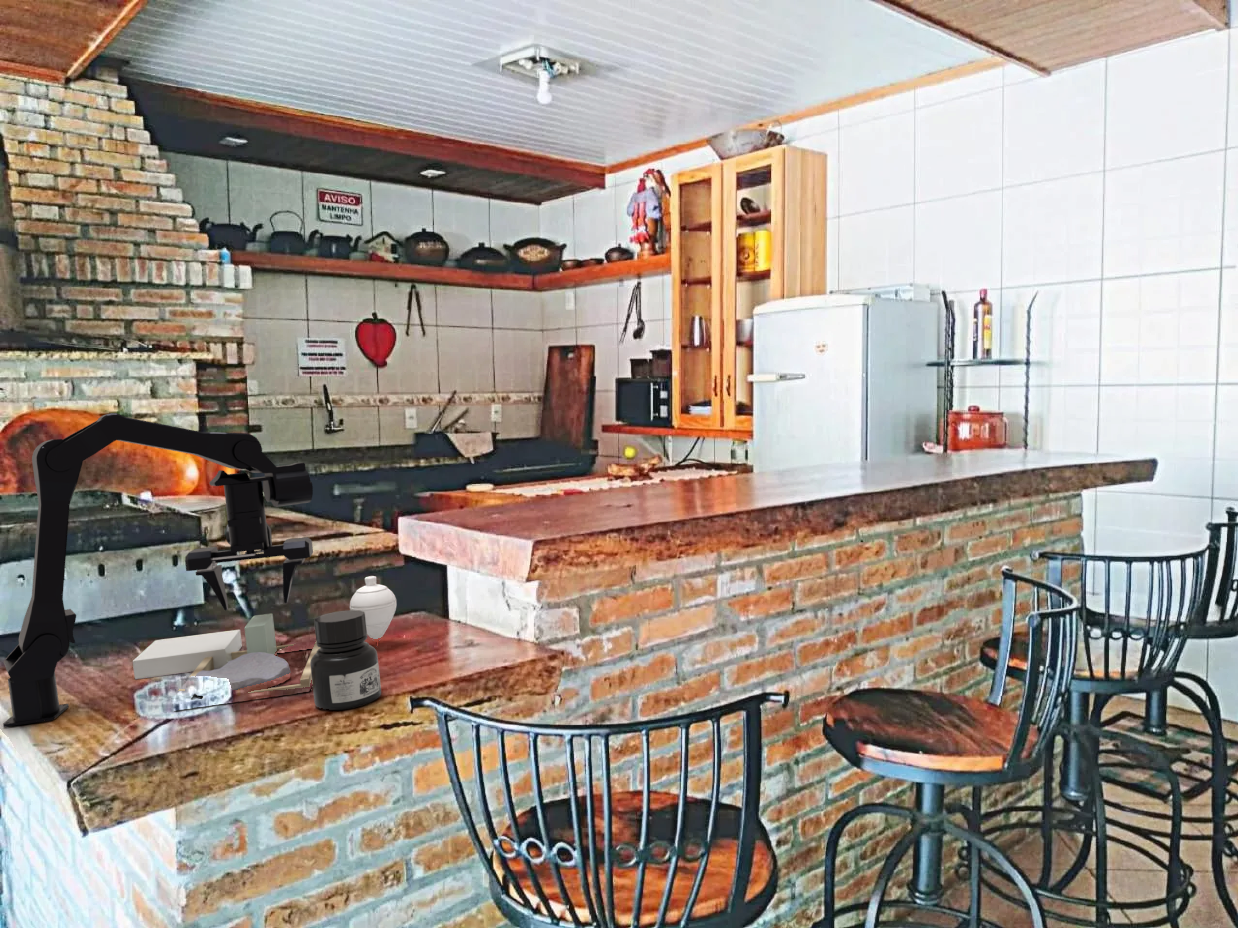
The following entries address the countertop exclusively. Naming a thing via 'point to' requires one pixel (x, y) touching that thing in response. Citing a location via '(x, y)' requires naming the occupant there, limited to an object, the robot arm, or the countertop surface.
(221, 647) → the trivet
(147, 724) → the countertop surface
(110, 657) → the countertop surface
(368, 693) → the ink bottle
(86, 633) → the countertop surface
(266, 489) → the robot arm
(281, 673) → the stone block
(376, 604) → the spinning top
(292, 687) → the rack
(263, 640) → the rectangular block
